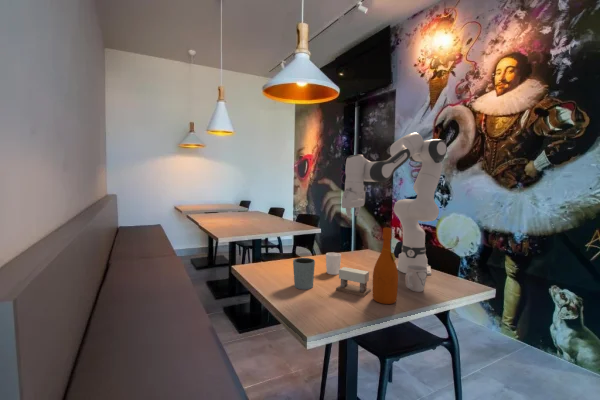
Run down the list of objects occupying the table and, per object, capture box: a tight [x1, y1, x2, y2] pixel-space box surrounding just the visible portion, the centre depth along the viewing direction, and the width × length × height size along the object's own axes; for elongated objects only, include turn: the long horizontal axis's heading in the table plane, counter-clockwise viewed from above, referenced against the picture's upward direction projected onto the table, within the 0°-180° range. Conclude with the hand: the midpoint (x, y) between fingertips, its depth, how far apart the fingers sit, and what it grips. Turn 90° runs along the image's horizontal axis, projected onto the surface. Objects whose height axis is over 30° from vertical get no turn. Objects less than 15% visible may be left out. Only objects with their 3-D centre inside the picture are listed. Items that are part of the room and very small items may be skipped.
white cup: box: [325, 251, 342, 276], centre depth 159 cm, size 8×8×10 cm
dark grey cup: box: [292, 257, 316, 290], centre depth 138 cm, size 10×10×12 cm
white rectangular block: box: [338, 266, 370, 284], centre depth 133 cm, size 12×5×4 cm, turn 57°
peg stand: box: [335, 279, 372, 298], centre depth 133 cm, size 8×13×5 cm, turn 57°
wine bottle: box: [372, 226, 399, 305], centre depth 122 cm, size 10×10×30 cm
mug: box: [404, 265, 427, 293], centre depth 136 cm, size 11×8×10 cm
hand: (353, 216), depth 147 cm, fingers open, 8 cm apart
